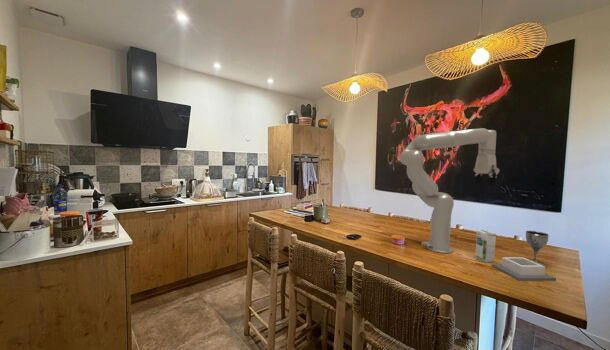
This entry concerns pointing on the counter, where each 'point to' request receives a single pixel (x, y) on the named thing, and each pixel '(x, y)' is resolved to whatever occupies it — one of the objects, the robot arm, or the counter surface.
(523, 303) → the counter surface
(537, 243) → the wine glass
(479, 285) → the counter surface
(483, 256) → the syrup box
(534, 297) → the counter surface
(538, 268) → the dock
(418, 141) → the robot arm
